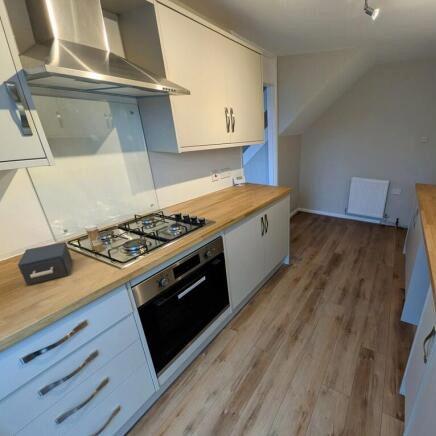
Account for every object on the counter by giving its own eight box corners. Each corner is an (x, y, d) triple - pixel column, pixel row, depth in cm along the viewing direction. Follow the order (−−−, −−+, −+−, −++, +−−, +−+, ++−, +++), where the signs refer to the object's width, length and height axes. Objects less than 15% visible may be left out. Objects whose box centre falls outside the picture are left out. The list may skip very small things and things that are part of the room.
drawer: (65, 279, 96) (59, 263, 93) (25, 290, 89) (17, 272, 86) (69, 260, 109) (64, 245, 106) (34, 268, 102) (27, 253, 100)
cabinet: (69, 274, 100) (62, 255, 97) (27, 285, 93) (17, 264, 90) (72, 260, 111) (65, 241, 108) (34, 268, 104) (26, 249, 101)
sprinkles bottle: (100, 252, 118) (92, 227, 114) (90, 252, 118) (82, 228, 113) (105, 248, 123) (98, 224, 118) (96, 248, 122) (88, 224, 117)
